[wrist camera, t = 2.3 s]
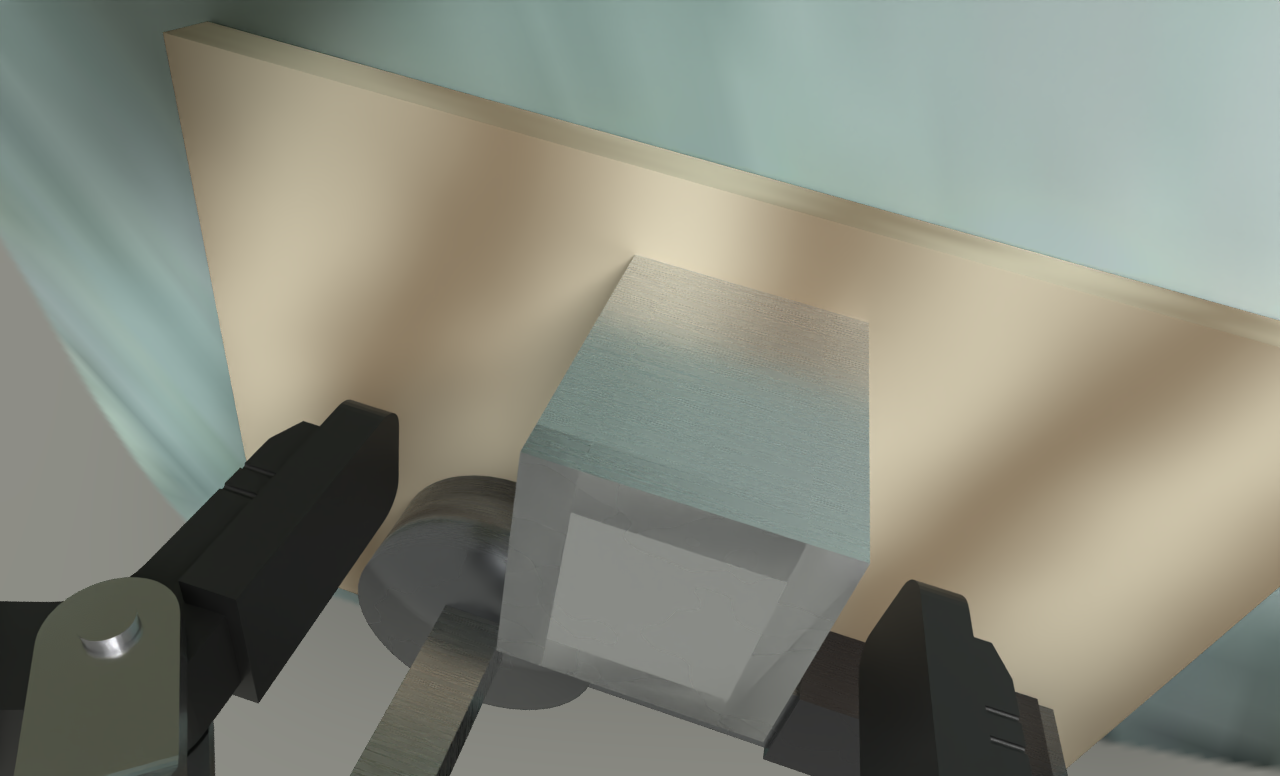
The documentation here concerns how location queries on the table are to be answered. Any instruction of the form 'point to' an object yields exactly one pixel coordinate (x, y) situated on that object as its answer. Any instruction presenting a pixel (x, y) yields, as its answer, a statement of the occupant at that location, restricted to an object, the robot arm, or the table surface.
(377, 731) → the ratchet
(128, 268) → the table surface
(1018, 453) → the board
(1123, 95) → the table surface
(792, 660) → the grey pocketed block
